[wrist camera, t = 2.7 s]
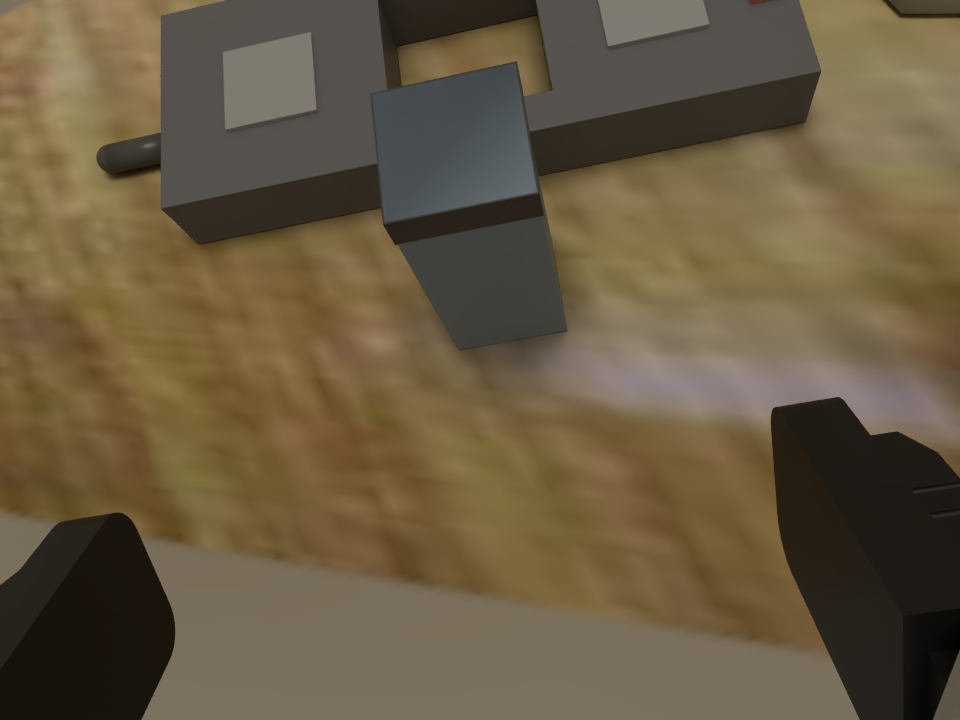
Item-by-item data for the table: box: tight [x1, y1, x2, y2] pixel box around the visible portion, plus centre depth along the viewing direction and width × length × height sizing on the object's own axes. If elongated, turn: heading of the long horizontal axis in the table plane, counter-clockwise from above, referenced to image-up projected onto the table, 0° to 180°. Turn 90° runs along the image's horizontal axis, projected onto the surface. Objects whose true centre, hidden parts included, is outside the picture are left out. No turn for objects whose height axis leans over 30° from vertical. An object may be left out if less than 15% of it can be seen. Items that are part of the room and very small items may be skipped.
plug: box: [370, 61, 567, 350], centre depth 28 cm, size 4×4×10 cm
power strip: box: [97, 0, 821, 244], centre depth 34 cm, size 28×9×4 cm, turn 97°
